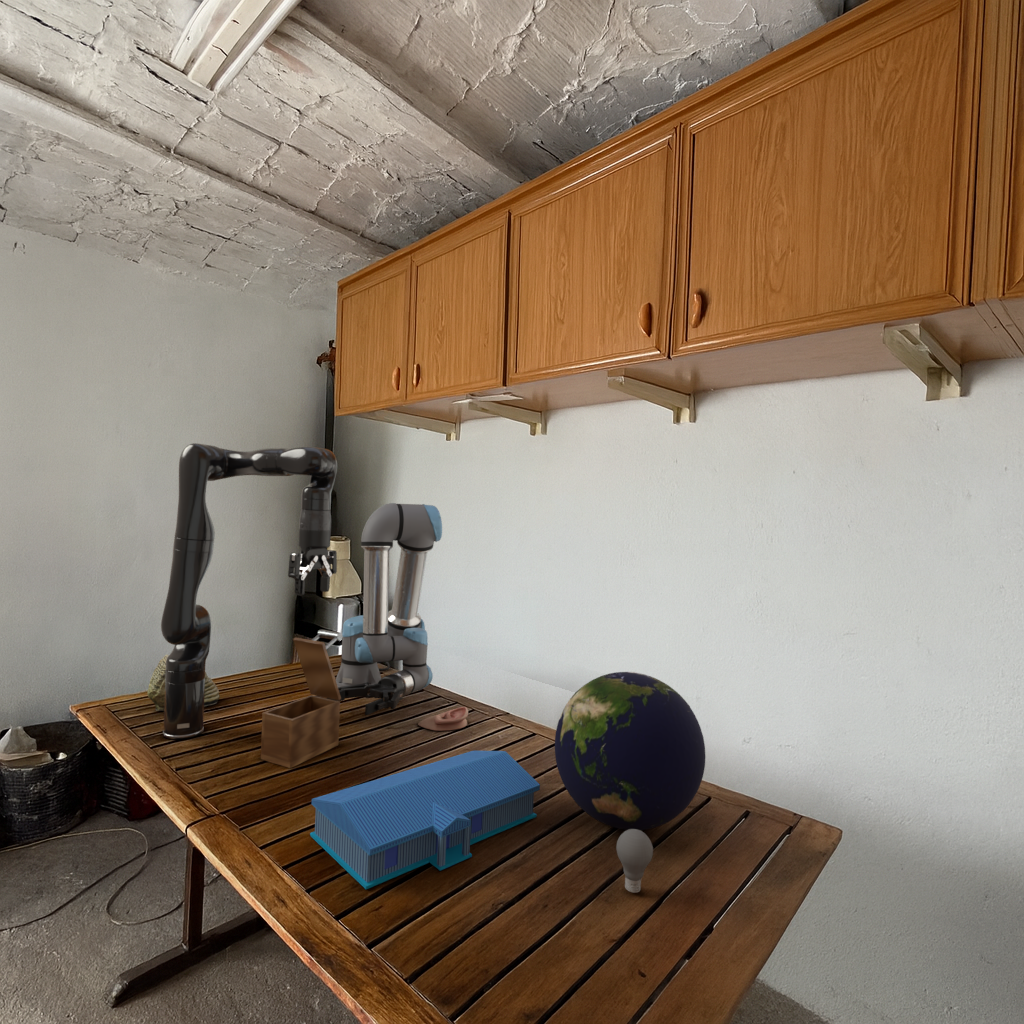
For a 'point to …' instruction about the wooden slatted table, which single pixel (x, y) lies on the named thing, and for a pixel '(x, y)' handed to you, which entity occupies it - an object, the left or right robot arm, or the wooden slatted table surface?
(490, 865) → the wooden slatted table surface
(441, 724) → the anatomical model
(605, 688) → the globe
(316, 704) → the chest
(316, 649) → the lid
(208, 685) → the fossil
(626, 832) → the light bulb
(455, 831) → the model building
